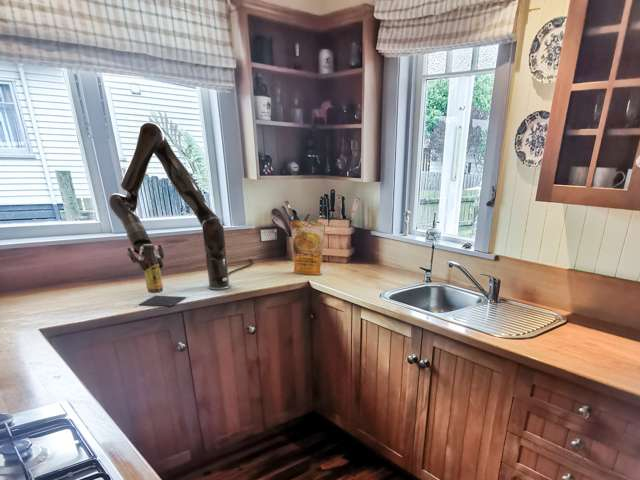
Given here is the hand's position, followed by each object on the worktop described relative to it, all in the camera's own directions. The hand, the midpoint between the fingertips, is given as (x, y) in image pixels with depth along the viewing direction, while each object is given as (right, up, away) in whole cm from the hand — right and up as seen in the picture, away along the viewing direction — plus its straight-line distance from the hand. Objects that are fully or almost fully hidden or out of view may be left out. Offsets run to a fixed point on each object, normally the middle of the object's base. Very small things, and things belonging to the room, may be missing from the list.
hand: (153, 268), depth 195 cm
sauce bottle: (-2, -9, +6) cm, 11 cm away
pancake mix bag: (+55, +12, +66) cm, 87 cm away
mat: (0, -13, +9) cm, 15 cm away
